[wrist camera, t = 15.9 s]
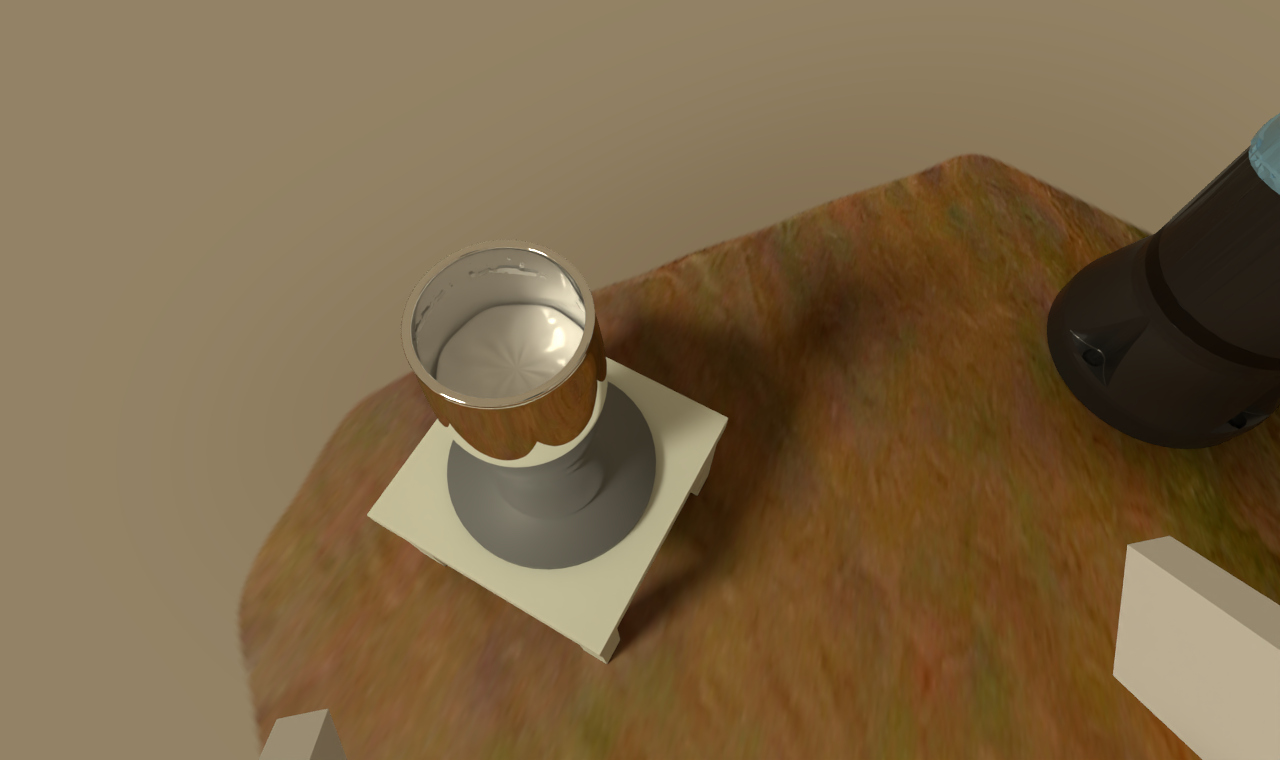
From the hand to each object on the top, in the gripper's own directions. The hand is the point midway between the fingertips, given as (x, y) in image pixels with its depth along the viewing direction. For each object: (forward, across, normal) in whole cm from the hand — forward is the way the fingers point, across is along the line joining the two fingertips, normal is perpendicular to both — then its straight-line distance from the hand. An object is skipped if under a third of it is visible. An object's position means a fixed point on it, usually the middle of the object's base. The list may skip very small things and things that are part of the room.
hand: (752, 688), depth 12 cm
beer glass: (+26, -4, -7) cm, 27 cm away
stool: (+33, -4, -15) cm, 36 cm away
